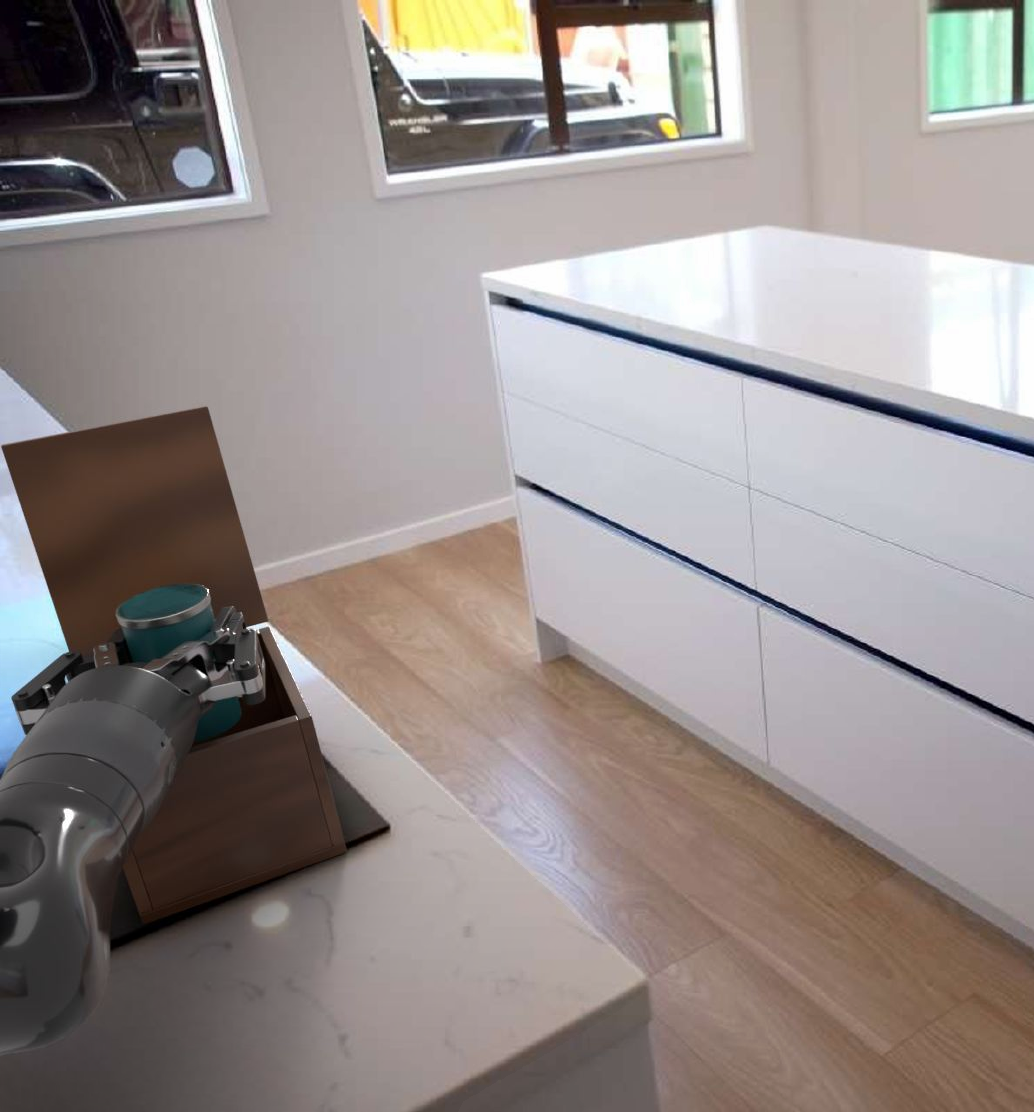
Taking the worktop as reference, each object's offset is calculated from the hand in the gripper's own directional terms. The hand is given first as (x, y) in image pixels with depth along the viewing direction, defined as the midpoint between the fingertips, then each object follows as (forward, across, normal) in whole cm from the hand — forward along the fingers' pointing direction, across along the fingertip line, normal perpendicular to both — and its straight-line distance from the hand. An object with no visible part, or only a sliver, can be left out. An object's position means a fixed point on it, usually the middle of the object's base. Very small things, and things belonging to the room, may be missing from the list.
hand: (185, 625), depth 84 cm
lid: (+7, +4, -4) cm, 9 cm away
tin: (-3, 0, +6) cm, 7 cm away
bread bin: (-1, +1, +16) cm, 16 cm away
